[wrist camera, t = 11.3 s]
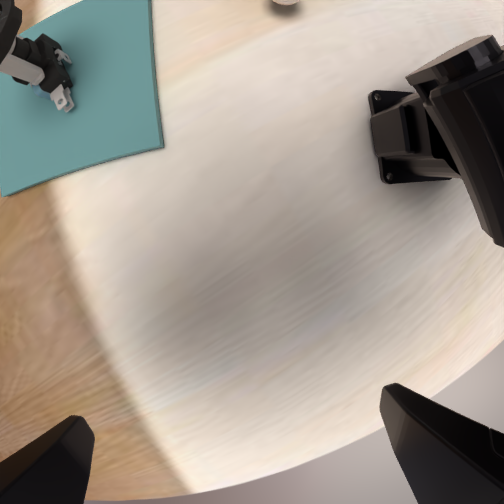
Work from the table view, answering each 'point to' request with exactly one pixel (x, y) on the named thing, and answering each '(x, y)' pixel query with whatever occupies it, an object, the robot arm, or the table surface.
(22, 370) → the table surface
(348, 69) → the table surface
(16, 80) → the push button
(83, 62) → the teal rubber mat
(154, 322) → the table surface
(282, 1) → the grey slab pair
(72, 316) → the table surface
